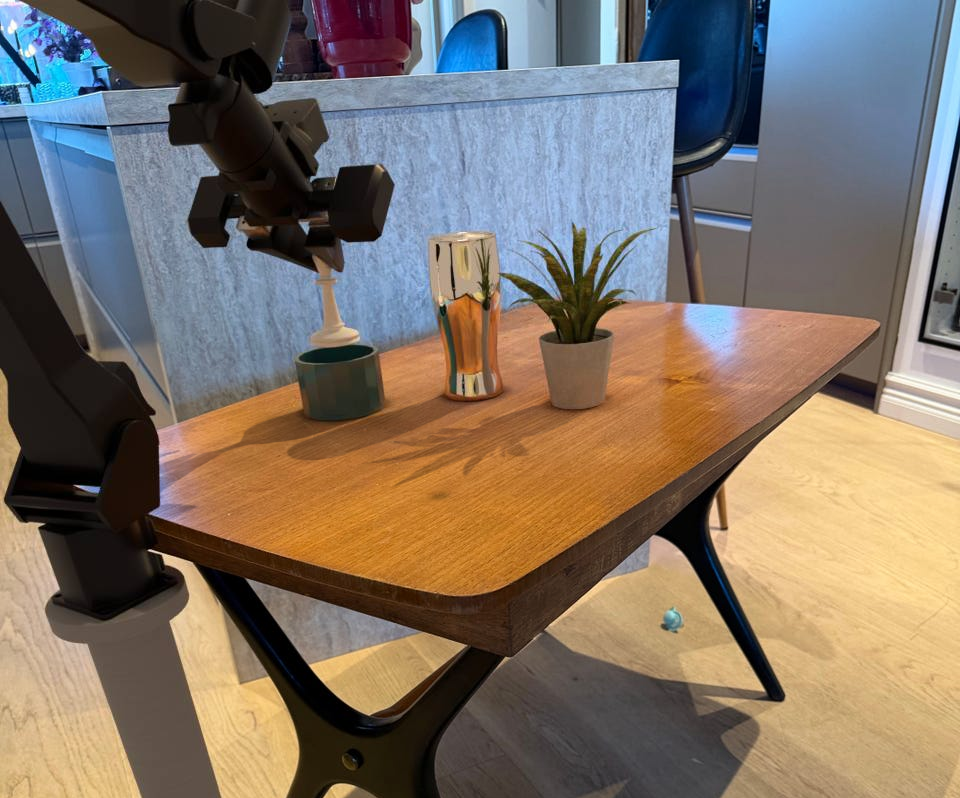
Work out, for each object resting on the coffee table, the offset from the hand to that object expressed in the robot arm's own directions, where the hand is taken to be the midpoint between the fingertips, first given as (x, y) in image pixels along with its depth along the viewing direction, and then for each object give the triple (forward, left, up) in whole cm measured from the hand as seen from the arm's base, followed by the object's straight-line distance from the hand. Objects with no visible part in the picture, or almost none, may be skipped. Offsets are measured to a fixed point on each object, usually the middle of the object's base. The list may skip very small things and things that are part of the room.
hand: (332, 268), depth 86 cm
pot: (-1, 0, -13) cm, 13 cm away
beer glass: (+8, -10, -13) cm, 18 cm away
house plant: (+10, -22, -13) cm, 28 cm away
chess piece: (-1, 0, -7) cm, 7 cm away
